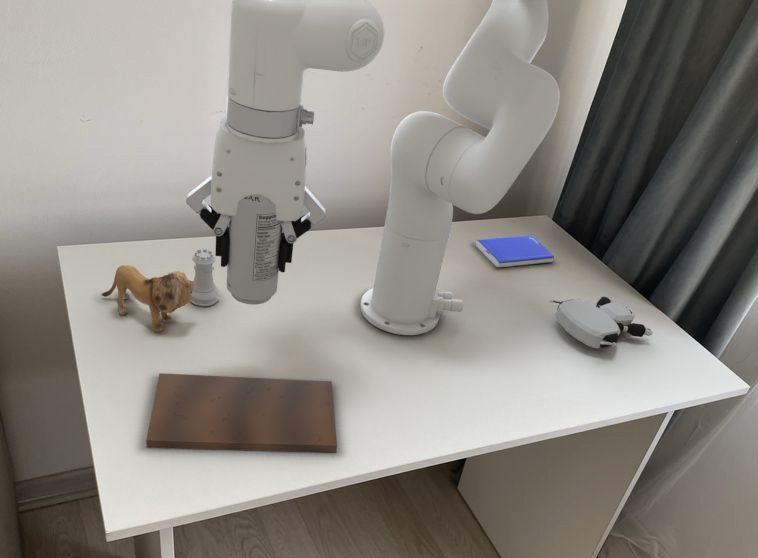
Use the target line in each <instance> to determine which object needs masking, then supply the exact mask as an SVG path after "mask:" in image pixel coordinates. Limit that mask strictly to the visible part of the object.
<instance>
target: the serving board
mask: <svg viewBox="0 0 758 558" xmlns="http://www.w3.org/2000/svg"><path fill="white" fill-rule="evenodd" d="M155 388H156V390H155V395H154V399H153V403H152V407H151V408H152V409H151V415H150V419H149V424H148V429H147V435H146V440H145V444H146V445H145V446H146V448H147V449H148V448H150V449H151V448H152V449H154V448H155V449H156V448H157V449H186V450H187V449H189V450H190V449H192V450H225V451H226V450H228V451H229V450H230V451H265V452H266V451H268V452H269V451H270V452H300V453H301V452H304V453H306V452H308V453H337V451H338V439H337V438H338V437H337V427H336V416H335V406H334V404H335V403H334V392H333V382H332V380H309V379H292V378H291V379H290V378H271V377H270V378H269V377H268V378H267V377H247V376H228V375H227V376H225V375H205V374H203V375H202V374H186V373H185V374H182V373H163V372H161V373H160V372H159V373H158V378H157V383H156V387H155Z"/></svg>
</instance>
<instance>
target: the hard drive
mask: <svg viewBox="0 0 758 558" xmlns="http://www.w3.org/2000/svg"><path fill="white" fill-rule="evenodd" d="M475 247H476V248H477V249H478V250H479V251H480V252H482V254H483V255H484V256H485V257H486V258H487V259H488V260H489V261H490V262H491V263H492V264H493V266H495V267H496V268H505V267H506V268H507V267H516V266H524V265H535V264H544V263H545V264H546V263H553V261H554V259H555V255H554V254H553V253H552V252H551V251H550V250H548V248H547V247H545V245H543V244H542V243H541V242H540V241H539V240H538V239H537V238H536V237H535V236H533V235H532V234H529V235H517V236H506V237H495V238H482V239H481V238H480V239H476V243H475Z"/></svg>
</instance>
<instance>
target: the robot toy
mask: <svg viewBox="0 0 758 558" xmlns="http://www.w3.org/2000/svg"><path fill="white" fill-rule="evenodd" d="M601 296H602V295H601ZM548 301H549V303H556V304H558V305H557V308H556V312H555V319H556V320H557V322H558V324H559V325H560V326H561V327H562V329H563V330H564V331H565V332H566V333H567V334H568V335H570V336H571V337H573V338H574V339H576V340H577V341H578V342H580V343H582V344H583V345H585V346H588V347H589V348H593V349H600V348H601V349H605V348H609V347H610V348H611V347H616V345H617V344H618V341H619V339H620V334H622V333H625V332H626V333H628V334H629V335H631V336H632V337H637V338H643V336H644V335H645V336H647V337H650V336H652V335H653V331H652V330H651V328H649V327H648V326H645V325H644V324H642V323H637V322H633V320H634V318H635V317H636V313H635V312H633V311H632V310H631V309H629V308H628V306H625V305H623V304H621V303H618V302H615V301H612V299H611V298H609V297H607V296H606V295H605V296H602V297H600V298H599V300H597V302H596V305H595V304H593V303H591V302H589V301H588V300H587V301H586V300H584V299H581V298H576V299H574V298H573V299H567V300H561V301H559V300H554V299H549V300H548Z"/></svg>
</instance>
